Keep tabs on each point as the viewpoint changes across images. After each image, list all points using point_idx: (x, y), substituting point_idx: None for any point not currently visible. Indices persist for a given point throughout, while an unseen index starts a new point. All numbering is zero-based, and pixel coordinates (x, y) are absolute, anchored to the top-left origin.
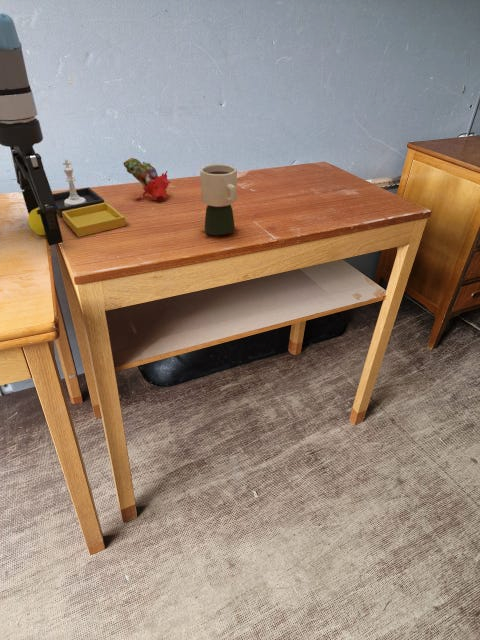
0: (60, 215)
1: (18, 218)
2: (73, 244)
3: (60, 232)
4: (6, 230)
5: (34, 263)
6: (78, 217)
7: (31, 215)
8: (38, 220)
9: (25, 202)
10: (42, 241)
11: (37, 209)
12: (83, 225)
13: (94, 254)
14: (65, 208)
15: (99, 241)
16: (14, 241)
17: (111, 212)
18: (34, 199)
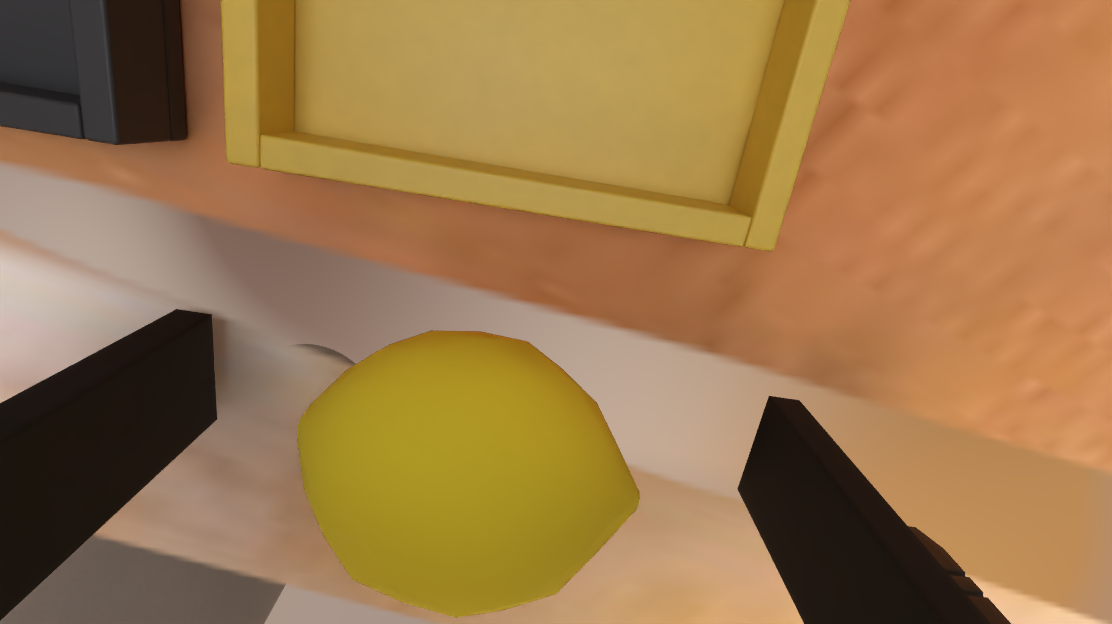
0: (167, 139)
1: None
2: (826, 327)
3: (842, 454)
4: (232, 565)
5: None
6: (345, 12)
7: (478, 613)
8: (579, 568)
9: (53, 555)
10: None
11: (451, 581)
12: (782, 170)
13: (1109, 292)
14: (120, 63)
15: (964, 135)
16: None
17: None
18: (33, 478)
